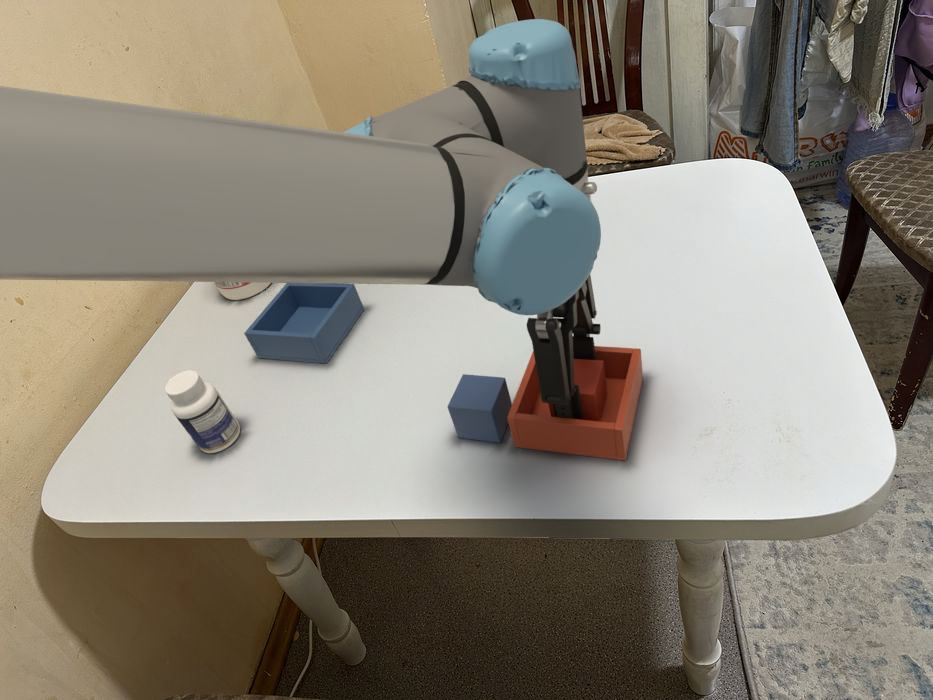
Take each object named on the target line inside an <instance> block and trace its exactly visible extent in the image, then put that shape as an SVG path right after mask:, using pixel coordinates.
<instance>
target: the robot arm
mask: <svg viewBox="0 0 933 700" xmlns="http://www.w3.org/2000/svg"><path fill="white" fill-rule="evenodd" d="M468 64H469V66H468V73H469V74H470V75H469V76H467V77H466V78H464V79H462V80H459V81H458V82H456V83H455V84H452V85H451V86H449V87H447V88H443V89H441V90H439V91H437V92H434V93H432V94H429V95H427V96H424V97H421V98H419V99H417V100H414V101H411V102H409V103H406V104H404V105H402V106H399V107H397V108H394V109H392V110H390V111H389V110H388V111H387V112H385V113H382V114H379V115H377V116H374V117H373V116H369V117H366V119H365V120H364V121H362V122H360V123H359V124H357V125H355V126H353V127H350V128H349V129H347V130H345V131H343V132H342V131H335V130H327V129H320V128H311V127H306V126H305V127H304V126H297V125H290V124H283V123H276V122H269V121H268V122H267V121H262V120H253V119H246V118H238V117H232V116H225V115H217V114H209V113H202V112H194V111H188V110H181V109H172V108H166V107H158V106H151V105H143V104H137V103H129V102H123V101H122V102H121V101H114V100H106V99H99V98H93V97H85V96H77V95H71V94H70V95H69V94H63V93H55V92H54V93H53V92H48V91H40V90H32V89H26V88H18V87H11V86H4V85H0V281H1V280H2V281H5V280H9V281H11V280H13V281H15V280H16V281H18V280H19V281H84V282H85V281H87V282H88V281H94V282H95V281H97V282H98V281H99V282H101V281H102V282H173V283H174V282H175V283H177V282H179V283H182V282H184V283H214V282H253V283H271V284H286V283H337V284H354V285H419V286H420V285H424V286H425V285H428V286H441V287H443V286H444V287H445V286H446V287H472V288H475V289H477V290H478V293H479V294H480V295H481V296H482V297H483V299H485V300H486V301H488V302H491V303H494V304H496V305H498V306H499V307H500V308H502V309H504V310H506V311H508V312H510V313H513V314H515V315H520V316H536V317H528V319H527V322H526V330H527V333H528V335H529V338H530V341H531V344H532V352H533V351H534V357H535V363H536V369H537V375H538V381H539V387H540V393H541V399H542V402H543V403H552V404H553V407H554V412H555V417H560V418H570V419H579V420H584V416H583V410H582V404H581V398H580V392H579V385H575V381H574V359H586V360H596V355H595V347H594V346H595V341H594V337H593V336H591V335H597V336H598V335H600V334H601V330H602V329H601V328H602V327H601V323H594V322H593V319H594V320H595V319H596V316H597V314H598V311H597V308H596V300H595V295H594V289H593V282H592V276H591V273H592V271H593V269H594V265H595V261H596V260H597V258H598V252H599V250H600V246H601V242H602V241H601V240H602V228H601V223H600V217H599V213H598V212H597V209H596V207H595V206H594V204H593V202H592V195H595V193H596V192H597V191H598V190H597V189H598V186H597V184H596V182H595V181H589V170H588V160H587V147H586V138H585V129H584V128H585V127H584V119H583V109H582V98H581V87H582V84H581V79H580V77H579V72H578V66H577V59H576V53H575V50H574V47H573V42H572V37H571V34H570V32H569V30H568V29H567V28H566V27H565V26H564V25H562V24H561V23H560V22H558V21H555V20H550V19H545V18H534V19H533V18H532V19H524V20H518V21H513V22H509V23H505V24H502V25H500V26H499V25H498V26H497V27H494V28H491V29H489V30H487V31H485V33H484V34H483V35H480V36H478V37H476V38H474V40H473V41H472V42H471V44H470V46H469V49H468Z"/></svg>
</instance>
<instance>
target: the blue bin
mask: <svg viewBox="0 0 933 700" xmlns="http://www.w3.org/2000/svg"><path fill="white" fill-rule="evenodd" d="M355 285H356V284H337V283H284V285H283V287H282V288H281V289H280V290H279V291H278V293H277V294H276V295H275V296H274V297H273V299H272V300H271V301H270V302H269V303H268V304H267V305H266V307H265V308H264V309H263V310H262V312H261V313H260V314H259V315H258V316H257V317H256V318H255V320H254V321H253V322H252V323H251V324H250V326H249V327H248V328H247V329H246V330H245V332H243V334H244V336H245V338H246V340H247V341H248V342H249V344H250V346H251V348H252V349H253V351H254V353H255V355H256V357H257V358H258V359H266V360H267V359H268V360H277V361H278V360H280V361H289V362H291V361H293V362H305V363H316V364H317V363H318V364H328V363H329V362H330V360H331V358H332V357H333V356H334V354H335V353H336V351H337V350H338V348H339V347H340V345H341V344H342V342H343V341H344V340H345V338H346V337H347V335H348V334H349V332H350V331H351V329H352V328H353V327H354V325H355V324H356V323H357V321H358V319H359V318H360V316H361V315H362V314H363V312H364V310H365V307H364V304H363V303H362V300H361V298H360V295H359V292H358V290H357V288H356V286H355Z"/></svg>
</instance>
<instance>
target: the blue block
mask: <svg viewBox="0 0 933 700" xmlns="http://www.w3.org/2000/svg"><path fill="white" fill-rule="evenodd" d="M512 404H513V402H512V399H511V395H510V391H509V388H508V384H507V380H506V377H502V376H489V375H479V374H478V375H476V374H467V373H463V374H462V375H461V378H460V379H459V381H458V383H457V385H456V388H455V390H454V392H453V394H452V396H451V398H450V401H449V402H448V404H447V409H448V412H449V413H448V414H449V415H450V418H451V421H452V424H453V427H454V430H455V433H456V435H457V438H459V439H467V440H474V441H475V440H476V441H484V442H492V443H498V444H499V443H500V444H501V442H502V440H503V437H504V434H505V432H506V429H507V426H508V425H509V423H508V419H507V417H508V414H509V412H510V409H511V406H512Z"/></svg>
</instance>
